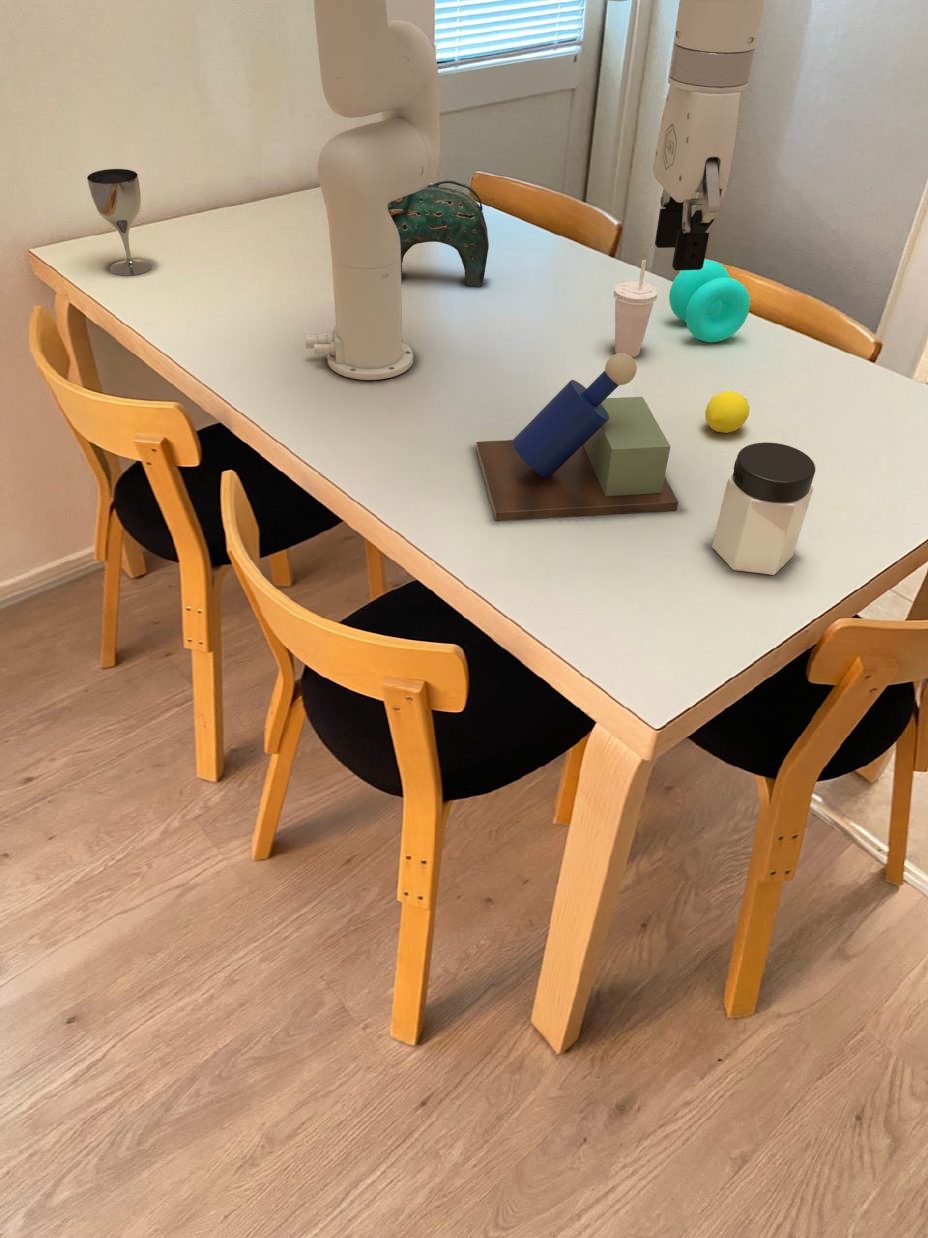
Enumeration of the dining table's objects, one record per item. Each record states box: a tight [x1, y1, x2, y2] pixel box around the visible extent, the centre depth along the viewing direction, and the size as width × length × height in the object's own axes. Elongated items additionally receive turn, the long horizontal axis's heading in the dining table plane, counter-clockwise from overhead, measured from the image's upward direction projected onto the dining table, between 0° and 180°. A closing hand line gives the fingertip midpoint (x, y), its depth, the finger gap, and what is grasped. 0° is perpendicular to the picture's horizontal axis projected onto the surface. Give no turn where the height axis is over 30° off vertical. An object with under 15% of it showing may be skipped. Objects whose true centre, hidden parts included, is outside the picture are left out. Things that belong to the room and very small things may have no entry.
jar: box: [711, 441, 816, 576], centre depth 106 cm, size 9×8×12 cm
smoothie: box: [612, 259, 658, 358], centre depth 143 cm, size 6×6×14 cm
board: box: [475, 439, 679, 522], centre depth 120 cm, size 22×16×1 cm
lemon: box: [704, 390, 750, 434], centre depth 129 cm, size 7×5×5 cm
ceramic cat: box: [388, 180, 490, 288], centre depth 161 cm, size 20×6×20 cm, turn 83°
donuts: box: [668, 259, 751, 343], centre depth 151 cm, size 10×10×10 cm
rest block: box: [583, 396, 671, 496], centre depth 119 cm, size 7×12×6 cm, turn 8°
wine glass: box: [86, 168, 153, 277], centre depth 163 cm, size 8×8×15 cm
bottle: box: [512, 353, 638, 478], centre depth 115 cm, size 14×6×15 cm, turn 98°
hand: (678, 255), depth 104 cm, fingers open, 5 cm apart
